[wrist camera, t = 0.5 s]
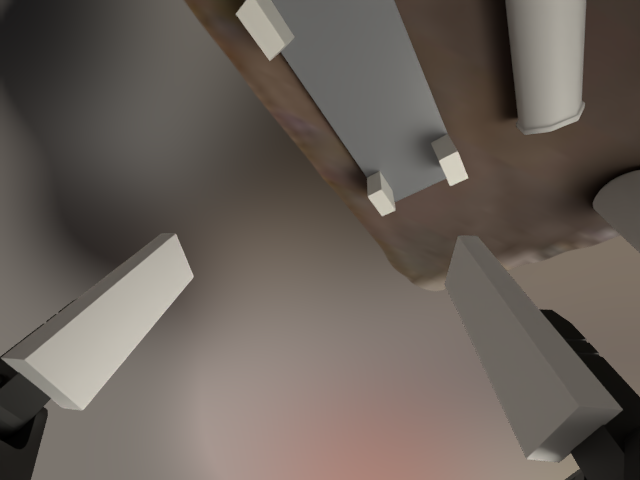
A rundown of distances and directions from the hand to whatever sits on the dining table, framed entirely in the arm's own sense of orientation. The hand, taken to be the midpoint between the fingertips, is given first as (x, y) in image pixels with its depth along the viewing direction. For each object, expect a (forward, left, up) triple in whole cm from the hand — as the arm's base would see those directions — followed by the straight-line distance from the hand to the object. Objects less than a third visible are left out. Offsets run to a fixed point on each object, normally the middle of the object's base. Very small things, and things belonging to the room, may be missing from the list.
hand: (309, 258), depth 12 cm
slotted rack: (-3, +2, -25) cm, 25 cm away
